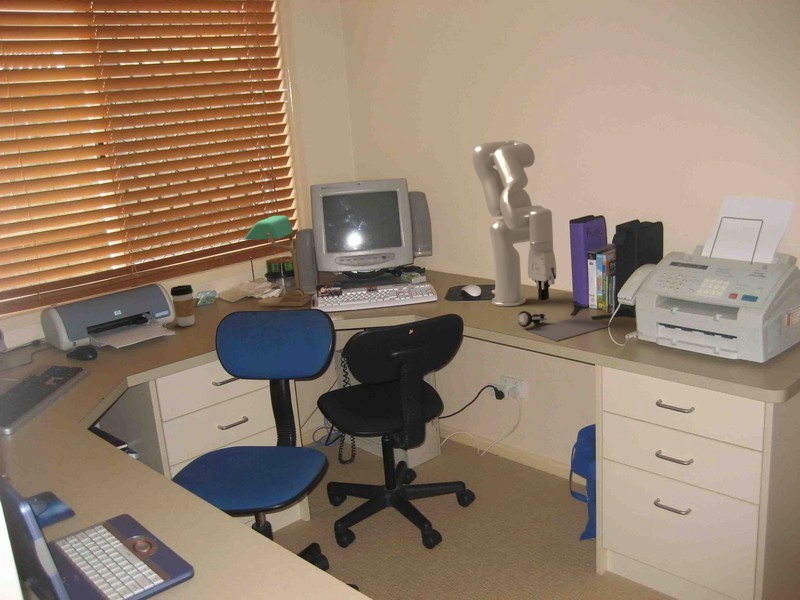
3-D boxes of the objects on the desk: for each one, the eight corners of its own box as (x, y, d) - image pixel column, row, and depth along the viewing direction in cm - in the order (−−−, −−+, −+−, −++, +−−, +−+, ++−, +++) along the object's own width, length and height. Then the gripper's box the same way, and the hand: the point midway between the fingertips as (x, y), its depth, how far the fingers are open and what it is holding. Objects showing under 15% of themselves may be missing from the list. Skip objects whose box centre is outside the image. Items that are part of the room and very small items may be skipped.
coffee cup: (188, 327, 294) (182, 289, 290) (170, 326, 297) (164, 288, 293) (202, 321, 301) (196, 283, 297) (185, 320, 305) (179, 283, 301)
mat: (527, 331, 256) (527, 330, 256) (578, 317, 266) (578, 316, 266) (556, 341, 244) (556, 340, 244) (608, 326, 254) (608, 325, 254)
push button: (549, 308, 261) (529, 309, 255) (551, 324, 260) (531, 325, 254) (534, 311, 266) (514, 312, 260) (536, 327, 265) (516, 328, 259)
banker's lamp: (298, 308, 308) (287, 221, 299) (251, 308, 314) (239, 222, 305) (314, 297, 322) (304, 214, 313) (269, 297, 329) (258, 215, 320)
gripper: (518, 245, 263) (521, 297, 268) (547, 250, 251) (549, 305, 255) (536, 241, 267) (538, 293, 271) (565, 247, 254) (567, 301, 259)
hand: (543, 299), depth 263 cm, fingers closed
